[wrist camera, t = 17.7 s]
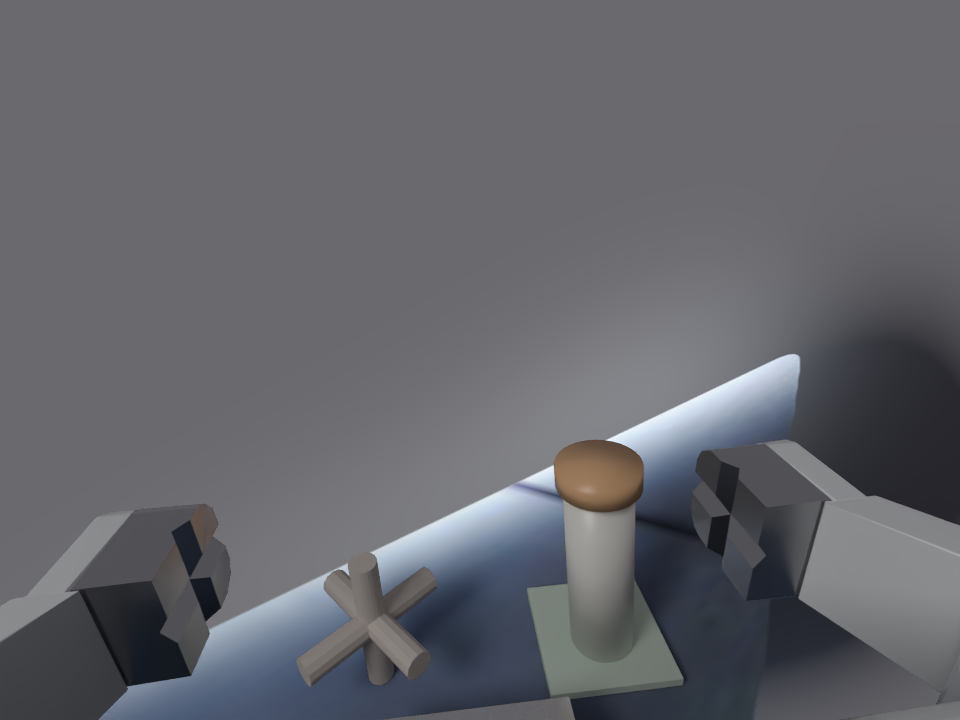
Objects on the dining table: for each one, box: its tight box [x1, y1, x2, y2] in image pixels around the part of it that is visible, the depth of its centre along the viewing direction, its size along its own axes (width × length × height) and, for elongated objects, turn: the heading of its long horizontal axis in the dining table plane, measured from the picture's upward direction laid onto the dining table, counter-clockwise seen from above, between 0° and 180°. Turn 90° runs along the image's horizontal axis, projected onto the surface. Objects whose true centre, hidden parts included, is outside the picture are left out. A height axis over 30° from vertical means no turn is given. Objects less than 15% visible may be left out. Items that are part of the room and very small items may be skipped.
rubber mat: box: [527, 579, 684, 699], centre depth 37 cm, size 9×9×1 cm
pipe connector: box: [296, 553, 437, 687], centre depth 34 cm, size 10×10×10 cm
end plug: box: [554, 440, 644, 663], centre depth 34 cm, size 5×5×15 cm
